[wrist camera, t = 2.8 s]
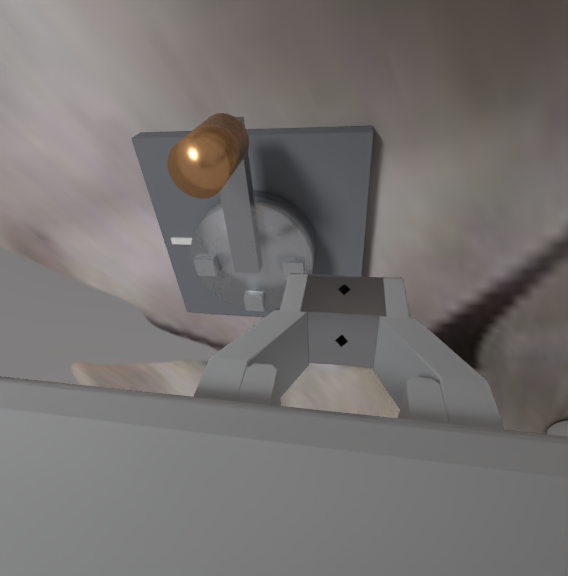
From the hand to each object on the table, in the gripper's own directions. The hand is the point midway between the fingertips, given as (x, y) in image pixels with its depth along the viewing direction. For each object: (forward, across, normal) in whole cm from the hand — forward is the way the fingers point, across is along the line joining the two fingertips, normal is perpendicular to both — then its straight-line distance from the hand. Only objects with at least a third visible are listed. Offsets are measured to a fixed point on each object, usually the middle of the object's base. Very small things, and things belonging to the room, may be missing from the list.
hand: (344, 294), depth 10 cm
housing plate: (+20, +8, +10) cm, 23 cm away
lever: (+18, +8, +6) cm, 21 cm away
